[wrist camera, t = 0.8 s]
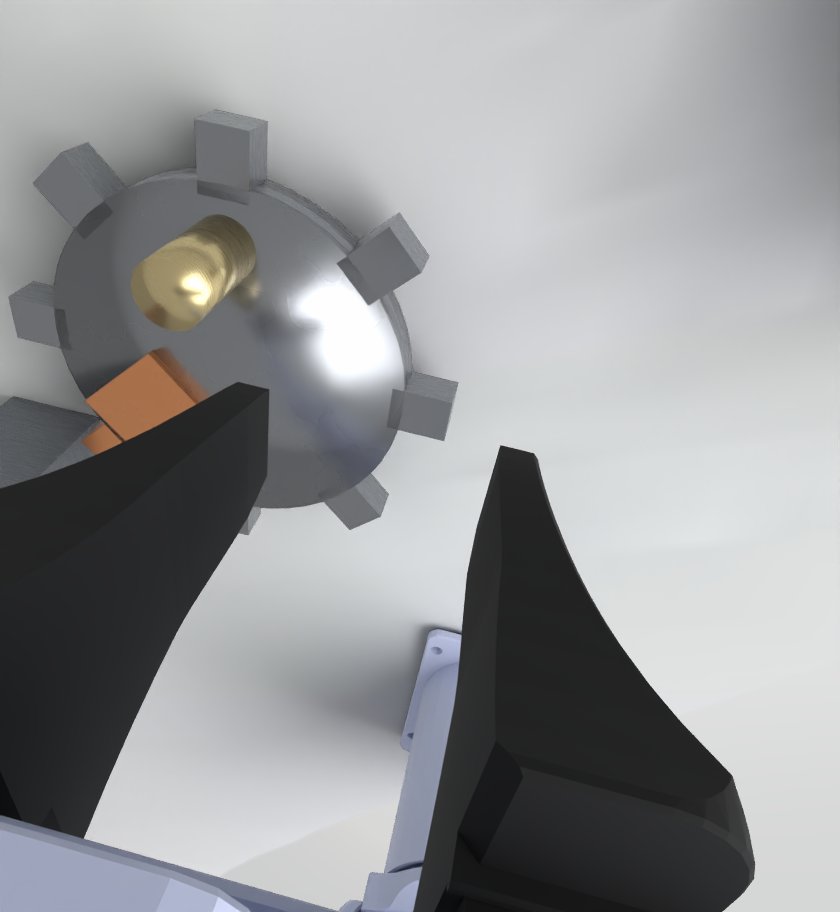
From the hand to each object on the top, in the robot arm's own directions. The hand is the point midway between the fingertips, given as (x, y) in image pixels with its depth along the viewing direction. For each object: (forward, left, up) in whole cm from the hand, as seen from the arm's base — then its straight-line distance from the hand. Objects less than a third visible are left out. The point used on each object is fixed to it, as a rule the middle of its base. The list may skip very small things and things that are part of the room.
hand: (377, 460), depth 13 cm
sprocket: (-4, +6, -8) cm, 11 cm away
